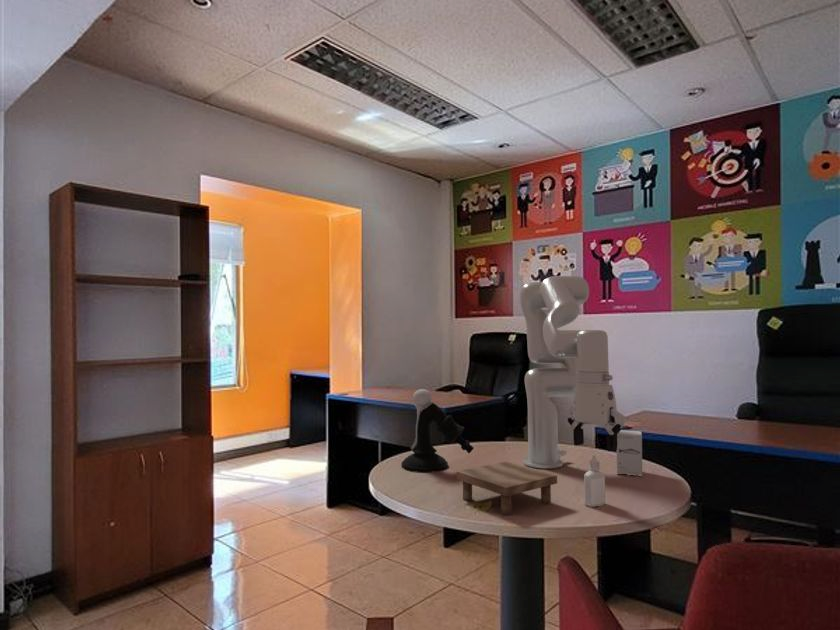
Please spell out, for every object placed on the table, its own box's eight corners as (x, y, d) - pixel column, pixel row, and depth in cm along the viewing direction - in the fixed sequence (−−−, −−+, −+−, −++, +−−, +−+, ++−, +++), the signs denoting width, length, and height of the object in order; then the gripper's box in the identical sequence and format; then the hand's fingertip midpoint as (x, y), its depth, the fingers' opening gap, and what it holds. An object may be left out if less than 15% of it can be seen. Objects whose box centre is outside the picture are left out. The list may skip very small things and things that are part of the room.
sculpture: (408, 459, 177) (408, 386, 178) (477, 463, 172) (476, 387, 173) (395, 470, 162) (395, 390, 163) (470, 475, 157) (469, 392, 158)
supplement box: (616, 475, 157) (615, 433, 157) (617, 469, 164) (616, 429, 164) (643, 477, 154) (642, 434, 154) (642, 471, 161) (641, 430, 161)
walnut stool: (506, 486, 145) (505, 461, 145) (557, 503, 130) (557, 475, 130) (456, 498, 134) (456, 471, 134) (506, 518, 120) (506, 487, 120)
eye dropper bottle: (609, 507, 127) (608, 458, 128) (586, 507, 127) (585, 458, 127) (602, 501, 131) (602, 454, 132) (581, 501, 131) (580, 454, 132)
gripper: (633, 379, 126) (635, 451, 124) (574, 377, 140) (575, 441, 138) (614, 381, 121) (616, 455, 120) (556, 378, 135) (557, 444, 134)
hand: (594, 447), depth 129 cm, fingers open, 9 cm apart
